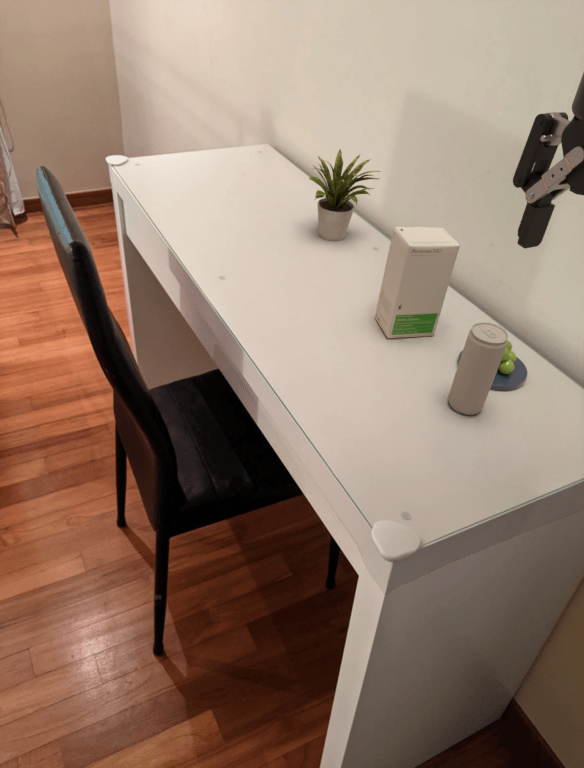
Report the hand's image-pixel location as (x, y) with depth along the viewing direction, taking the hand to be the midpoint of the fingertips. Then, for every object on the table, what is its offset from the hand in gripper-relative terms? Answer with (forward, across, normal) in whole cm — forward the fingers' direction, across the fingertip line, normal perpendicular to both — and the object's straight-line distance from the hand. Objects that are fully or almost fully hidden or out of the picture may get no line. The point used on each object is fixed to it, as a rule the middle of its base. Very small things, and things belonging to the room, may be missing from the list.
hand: (564, 268), depth 50 cm
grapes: (+30, +19, -20) cm, 41 cm away
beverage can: (+30, +14, -11) cm, 35 cm away
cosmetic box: (+30, +33, -14) cm, 47 cm away
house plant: (+30, +64, -18) cm, 73 cm away
